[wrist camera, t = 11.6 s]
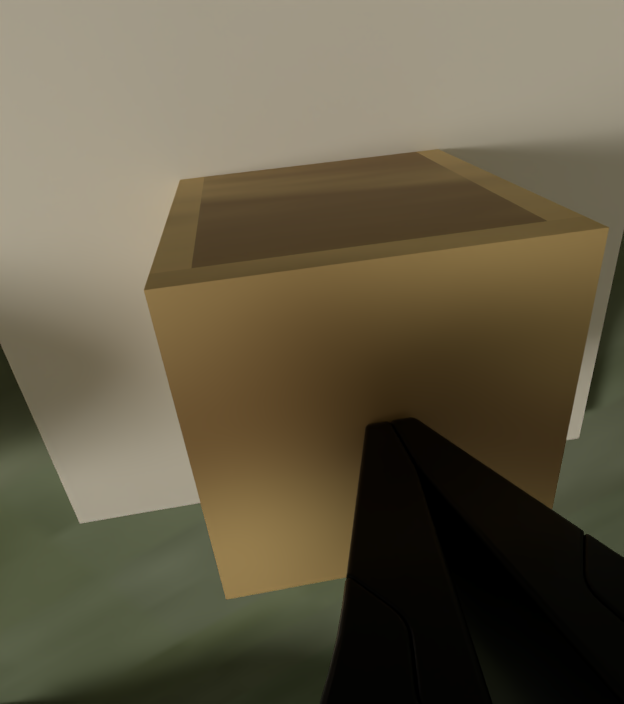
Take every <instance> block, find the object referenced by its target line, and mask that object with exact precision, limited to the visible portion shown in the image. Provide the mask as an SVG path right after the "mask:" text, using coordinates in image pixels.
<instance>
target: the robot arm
mask: <svg viewBox="0 0 624 704" xmlns="http://www.w3.org/2000/svg"><path fill="white" fill-rule="evenodd" d="M320 704H624V557H622V556H621V555H619V554H618V553H616V552H614V551H613V550H611V549H610V548H608V547H607V546H605V545H604V544H602V543H601V542H599V541H598V540H597V539H595V538H594V537H592V536H591V535H589V534H586V535H584V532H583V530H581V529H580V528H578V527H577V526H575V525H574V524H572V523H571V522H569V521H568V520H566V519H565V518H563V517H562V516H561V515H559V514H558V513H556V512H555V511H553V510H552V509H550V508H549V507H547V506H546V505H544V504H543V503H541V502H540V501H538V500H537V499H535V498H534V497H532V496H531V495H529V494H528V493H526V492H525V491H523V490H522V489H520V488H519V487H517V486H516V485H514V484H513V483H511V482H510V481H508V480H507V479H506V478H504V477H503V476H501V475H500V474H498V473H497V472H495V471H494V470H492V469H491V468H489V467H488V466H486V465H485V464H483V463H482V462H480V461H479V460H477V459H476V458H474V457H473V456H471V455H470V454H468V453H467V452H465V451H464V450H462V449H461V448H459V447H458V446H456V445H455V444H454V443H452V442H451V441H449V440H448V439H446V438H445V437H443V436H442V435H440V434H439V433H437V432H436V431H434V430H433V429H431V428H430V427H428V426H427V425H425V424H424V423H422V422H421V421H419V420H418V419H416V418H413V417H409V418H403V419H397V420H393V421H392V422H391V423H389V422H387V421H385V422H379V423H372V424H368V425H367V426H366V427H365V434H364V442H363V449H362V457H361V465H360V473H359V481H358V488H357V496H356V504H355V512H354V520H353V527H352V535H351V543H350V551H349V559H348V566H347V574H346V581H345V587H344V595H343V603H342V609H341V615H340V621H339V627H338V633H337V638H336V642H335V646H334V650H333V655H332V659H331V663H330V667H329V671H328V675H327V679H326V682H325V686H324V690H323V693H322V697H321V700H320Z"/></svg>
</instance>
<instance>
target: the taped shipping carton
mask: <svg viewBox="0 0 624 704" xmlns="http://www.w3.org/2000/svg"><path fill="white" fill-rule="evenodd" d="M608 231H609V227H607V226H605V225H603V224H601V223H599V222H596V221H594V220H592V219H590V218H588V217H585V216H583V215H581V214H579V213H577V212H575V211H572V210H570V209H568V208H566V207H564V206H561V205H559V204H557V203H555V202H553V201H551V200H548V199H546V198H544V197H542V196H540V195H537V194H535V193H533V192H531V191H529V190H526V189H524V188H522V187H520V186H518V185H516V184H513V183H511V182H509V181H507V180H505V179H502V178H500V177H498V176H496V175H494V174H492V173H489V172H487V171H485V170H483V169H481V168H478V167H476V166H474V165H472V164H470V163H467V162H465V161H463V160H461V159H459V158H457V157H454V156H452V155H450V154H448V153H446V152H443V151H441V150H439V149H435V150H427V151H418V152H410V153H401V154H393V155H384V156H376V157H368V158H359V159H351V160H342V161H334V162H325V163H317V164H309V165H300V166H292V167H283V168H275V169H266V170H258V171H249V172H241V173H233V174H224V175H216V176H207V177H199V178H190V179H182V180H180V181H179V184H178V187H177V190H176V193H175V196H174V199H173V202H172V205H171V209H170V212H169V215H168V218H167V221H166V224H165V227H164V230H163V233H162V236H161V239H160V242H159V245H158V248H157V251H156V254H155V257H154V260H153V263H152V266H151V270H150V273H149V276H148V279H147V282H146V285H145V288H144V293H145V297H146V301H147V304H148V308H149V312H150V316H151V319H152V323H153V327H154V331H155V334H156V338H157V342H158V346H159V349H160V353H161V357H162V361H163V364H164V368H165V372H166V376H167V379H168V383H169V387H170V391H171V394H172V398H173V402H174V406H175V409H176V413H177V417H178V421H179V424H180V428H181V432H182V435H183V439H184V443H185V447H186V450H187V454H188V458H189V462H190V465H191V469H192V473H193V477H194V480H195V484H196V488H197V492H198V495H199V499H200V503H201V507H202V510H203V514H204V518H205V522H206V525H207V529H208V533H209V537H210V540H211V544H212V548H213V552H214V555H215V559H216V563H217V567H218V570H219V574H220V578H221V582H222V585H223V589H224V593H225V596H226V599H232V598H237V597H243V596H248V595H253V594H259V593H264V592H269V591H275V590H280V589H286V588H291V587H296V586H302V585H307V584H313V583H318V582H323V581H329V580H334V579H340V578H345V577H346V574H347V566H348V559H349V551H350V543H351V535H352V527H353V520H354V512H355V504H356V496H357V488H358V481H359V473H360V465H361V457H362V449H363V442H364V434H365V427H366V426H367V425H368V424H372V423H379V422H385V421H387V422H389V423H391V422H392V421H393V420H397V419H403V418H409V417H413V418H416V419H418V420H419V421H421V422H422V423H424V424H425V425H427V426H428V427H430V428H431V429H433V430H434V431H436V432H437V433H439V434H440V435H442V436H443V437H445V438H446V439H448V440H449V441H451V442H452V443H454V444H455V445H456V446H458V447H459V448H461V449H462V450H464V451H465V452H467V453H468V454H470V455H471V456H473V457H474V458H476V459H477V460H479V461H480V462H482V463H483V464H485V465H486V466H488V467H489V468H491V469H492V470H494V471H495V472H497V473H498V474H500V475H501V476H503V477H504V478H506V479H507V480H508V481H510V482H511V483H513V484H514V485H516V486H517V487H519V488H520V489H522V490H523V491H525V492H526V493H528V494H529V495H531V496H532V497H534V498H535V499H537V500H538V501H540V502H541V503H543V504H544V505H546V506H547V507H549V508H550V509H552V508H553V503H554V498H555V493H556V488H557V483H558V478H559V473H560V468H561V463H562V458H563V453H564V448H565V443H566V438H567V434H568V429H569V424H570V419H571V414H572V409H573V404H574V399H575V394H576V389H577V384H578V379H579V374H580V369H581V364H582V359H583V355H584V350H585V345H586V340H587V335H588V330H589V325H590V320H591V315H592V310H593V305H594V300H595V295H596V290H597V285H598V281H599V276H600V271H601V266H602V261H603V256H604V251H605V246H606V241H607V236H608Z"/></svg>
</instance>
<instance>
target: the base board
mask: <svg viewBox="0 0 624 704" xmlns="http://www.w3.org/2000/svg"><path fill="white" fill-rule="evenodd" d="M435 149H439V150H441V151H443V152H446V153H448V154H450V155H452V156H454V157H457V158H459V159H461V160H463V161H465V162H467V163H470V164H472V165H474V166H476V167H478V168H481V169H483V170H485V171H487V172H489V173H492V174H494V175H496V176H498V177H500V178H502V179H505V180H507V181H509V182H511V183H513V184H516V185H518V186H520V187H522V188H524V189H526V190H529V191H531V192H533V193H535V194H537V195H540V196H542V197H544V198H546V199H548V200H551V201H553V202H555V203H557V204H559V205H561V206H564V207H566V208H568V209H570V210H572V211H575V212H577V213H579V214H581V215H583V216H585V217H588V218H590V219H592V220H594V221H596V222H599V223H601V224H603V225H605V226H607V227H609V231H608V236H607V241H606V246H605V251H604V256H603V261H602V266H601V271H600V276H599V281H598V285H597V290H596V295H595V300H594V305H593V310H592V315H591V320H590V325H589V330H588V335H587V340H586V345H585V350H584V355H583V359H582V364H581V369H580V374H579V379H578V384H577V389H576V394H575V399H574V404H573V409H572V414H571V419H570V424H569V429H568V434H567V438H566V440H570V439H576V438H579V435H580V430H581V426H582V421H583V417H584V412H585V407H586V403H587V398H588V393H589V389H590V384H591V379H592V375H593V370H594V365H595V361H596V356H597V352H598V347H599V342H600V338H601V333H602V328H603V324H604V319H605V314H606V310H607V305H608V300H609V296H610V291H611V287H612V282H613V277H614V273H615V268H616V263H617V259H618V254H619V249H620V245H621V240H622V235H623V231H624V0H0V344H1V346H2V349H3V351H4V353H5V355H6V358H7V360H8V362H9V365H10V367H11V369H12V371H13V374H14V376H15V378H16V380H17V383H18V385H19V387H20V389H21V392H22V394H23V396H24V398H25V401H26V403H27V405H28V407H29V410H30V412H31V414H32V416H33V419H34V421H35V423H36V425H37V428H38V430H39V432H40V435H41V437H42V439H43V441H44V444H45V446H46V448H47V450H48V453H49V455H50V457H51V459H52V462H53V464H54V466H55V468H56V471H57V473H58V475H59V477H60V480H61V482H62V484H63V486H64V489H65V491H66V493H67V495H68V498H69V500H70V502H71V504H72V507H73V509H74V511H75V514H76V516H77V518H78V520H79V523H85V522H91V521H97V520H103V519H109V518H114V517H120V516H126V515H132V514H138V513H144V512H149V511H155V510H161V509H167V508H173V507H179V506H185V505H190V504H196V503H200V499H199V495H198V492H197V488H196V484H195V480H194V477H193V473H192V469H191V465H190V462H189V458H188V454H187V450H186V447H185V443H184V439H183V435H182V432H181V428H180V424H179V421H178V417H177V413H176V409H175V406H174V402H173V398H172V394H171V391H170V387H169V383H168V379H167V376H166V372H165V368H164V364H163V361H162V357H161V353H160V349H159V346H158V342H157V338H156V334H155V331H154V327H153V323H152V319H151V316H150V312H149V308H148V304H147V301H146V297H145V293H144V288H145V285H146V282H147V279H148V276H149V273H150V270H151V266H152V263H153V260H154V257H155V254H156V251H157V248H158V245H159V242H160V239H161V236H162V233H163V230H164V227H165V224H166V221H167V218H168V215H169V212H170V209H171V205H172V202H173V199H174V196H175V193H176V190H177V187H178V184H179V181H180V180H182V179H190V178H199V177H207V176H216V175H224V174H233V173H241V172H249V171H258V170H266V169H275V168H283V167H292V166H300V165H309V164H317V163H325V162H334V161H342V160H351V159H359V158H368V157H376V156H384V155H393V154H401V153H410V152H418V151H427V150H435Z"/></svg>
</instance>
